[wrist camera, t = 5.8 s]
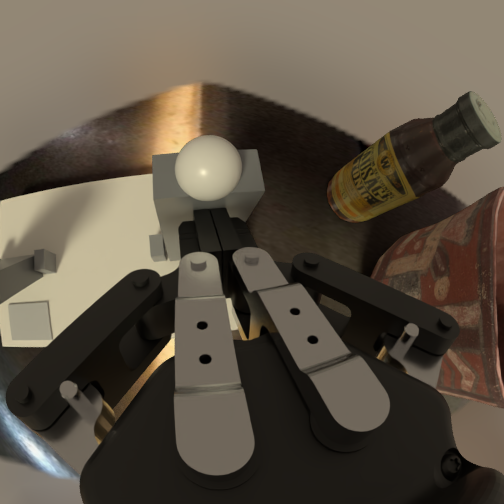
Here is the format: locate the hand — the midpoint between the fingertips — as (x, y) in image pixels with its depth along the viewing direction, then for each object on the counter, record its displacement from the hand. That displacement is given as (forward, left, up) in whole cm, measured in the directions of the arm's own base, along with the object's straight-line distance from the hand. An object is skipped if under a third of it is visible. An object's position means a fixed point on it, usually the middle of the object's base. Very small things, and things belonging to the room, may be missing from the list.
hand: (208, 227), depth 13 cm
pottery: (+21, +10, -13) cm, 27 cm away
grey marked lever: (-12, -11, -10) cm, 19 cm away
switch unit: (-7, -5, -13) cm, 15 cm away
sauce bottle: (+8, +16, -13) cm, 23 cm away
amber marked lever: (-1, +1, -10) cm, 10 cm away
